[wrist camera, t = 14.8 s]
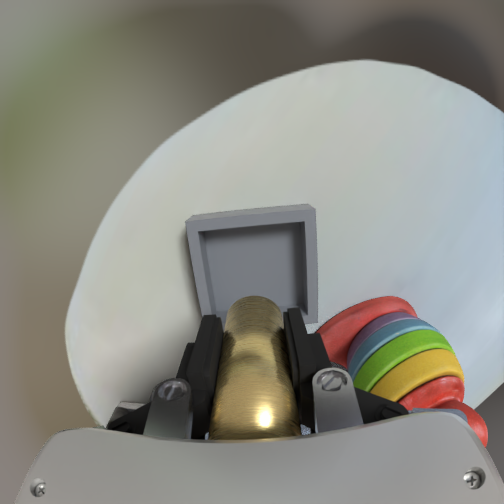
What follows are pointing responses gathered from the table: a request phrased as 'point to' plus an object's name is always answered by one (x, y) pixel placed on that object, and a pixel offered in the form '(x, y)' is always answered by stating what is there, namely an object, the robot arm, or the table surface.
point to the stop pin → (254, 376)
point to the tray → (256, 258)
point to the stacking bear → (398, 357)
